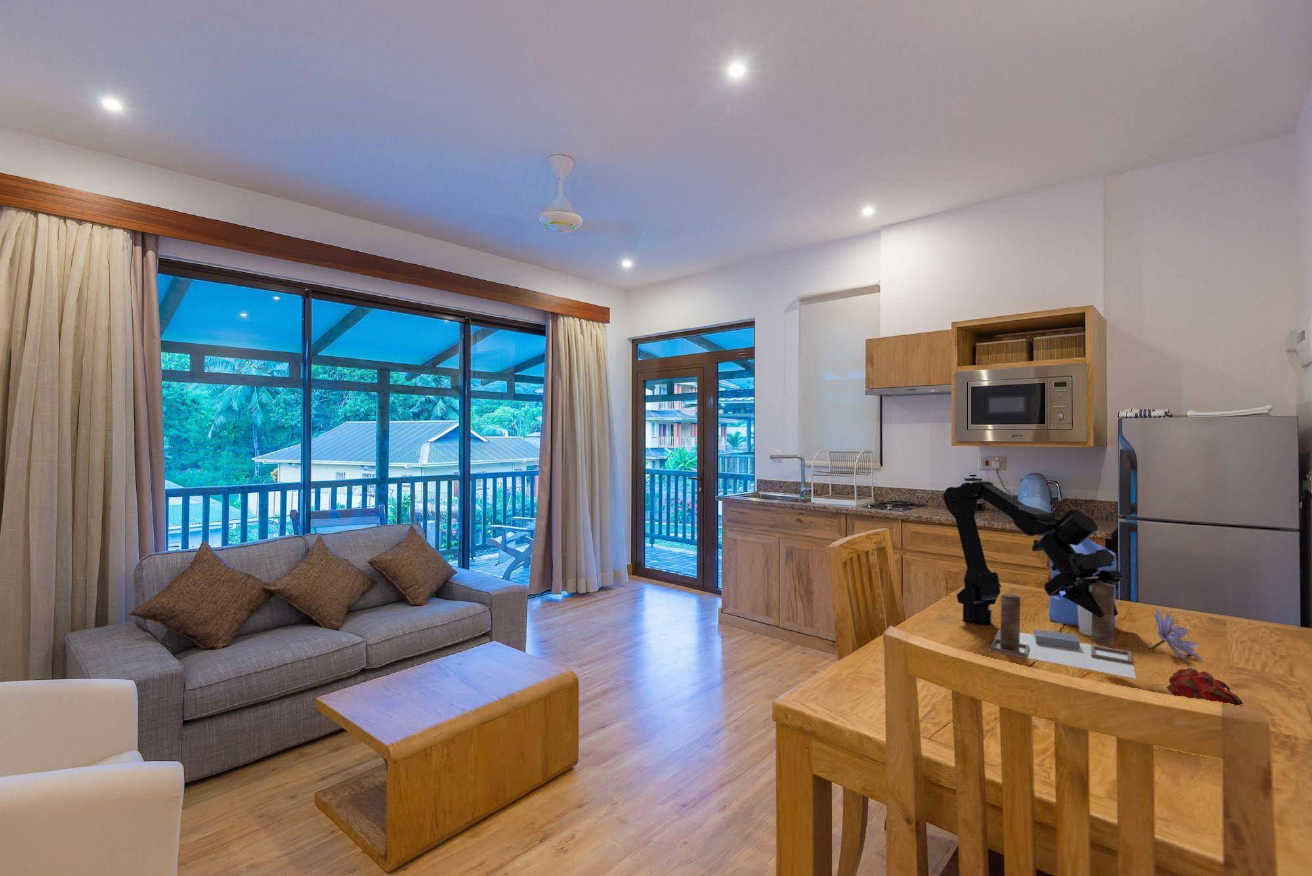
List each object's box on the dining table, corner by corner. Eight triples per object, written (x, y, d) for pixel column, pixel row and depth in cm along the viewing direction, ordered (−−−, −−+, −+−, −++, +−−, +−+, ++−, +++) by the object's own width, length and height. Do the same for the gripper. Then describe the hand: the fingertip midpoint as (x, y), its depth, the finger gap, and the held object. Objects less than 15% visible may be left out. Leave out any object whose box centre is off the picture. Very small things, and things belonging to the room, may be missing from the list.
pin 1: (999, 649, 147) (1000, 596, 147) (1001, 645, 151) (1002, 593, 150) (1018, 653, 145) (1019, 599, 145) (1020, 648, 148) (1020, 595, 148)
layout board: (989, 655, 147) (989, 647, 147) (998, 633, 163) (998, 626, 163) (1135, 684, 131) (1136, 675, 131) (1130, 656, 147) (1130, 648, 147)
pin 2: (1091, 642, 136) (1092, 585, 136) (1091, 638, 139) (1092, 581, 139) (1113, 646, 133) (1114, 588, 133) (1112, 641, 137) (1113, 584, 137)
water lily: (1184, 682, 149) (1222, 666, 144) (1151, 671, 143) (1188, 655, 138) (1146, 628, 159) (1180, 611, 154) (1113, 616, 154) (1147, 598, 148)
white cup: (1119, 644, 156) (1120, 605, 155) (1085, 641, 157) (1085, 603, 157) (1103, 634, 163) (1104, 597, 163) (1070, 632, 165) (1071, 595, 165)
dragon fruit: (1166, 704, 125) (1237, 740, 113) (1148, 685, 122) (1219, 721, 110) (1189, 670, 125) (1261, 703, 114) (1171, 651, 122) (1244, 683, 111)
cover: (1036, 643, 152) (1036, 635, 152) (1033, 636, 157) (1034, 629, 157) (1079, 650, 148) (1079, 642, 148) (1075, 642, 153) (1075, 634, 153)
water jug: (1112, 621, 175) (1114, 524, 175) (1118, 636, 162) (1120, 531, 161) (1048, 611, 183) (1049, 519, 183) (1048, 625, 170) (1050, 526, 170)
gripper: (1057, 539, 137) (1105, 600, 126) (1116, 535, 143) (1167, 594, 132) (1025, 566, 144) (1068, 626, 134) (1082, 561, 150) (1128, 619, 140)
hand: (1109, 616), depth 135 cm, fingers closed on pin 2, 4 cm apart
